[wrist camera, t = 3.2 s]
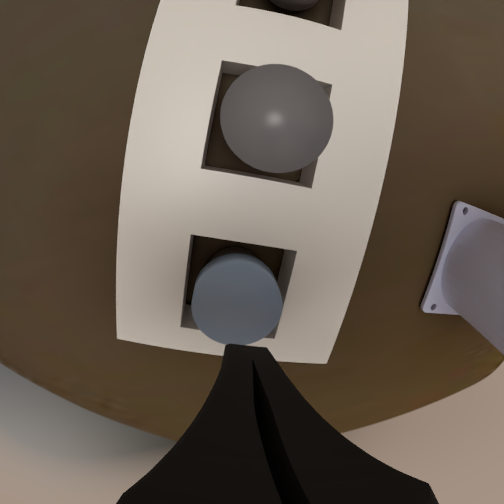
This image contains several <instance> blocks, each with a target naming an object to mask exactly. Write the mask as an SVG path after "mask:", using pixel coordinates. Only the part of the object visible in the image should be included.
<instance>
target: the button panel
mask: <svg viewBox="0 0 504 504" xmlns="http://www.w3.org/2000/svg"><path fill="white" fill-rule="evenodd" d="M239 3H240V0H161V1H160V4H159V7H158V10H157V13H156V16H155V20H154V23H153V26H152V30H151V33H150V37H149V41H148V44H147V48H146V52H145V56H144V60H143V64H142V68H141V72H140V77H139V81H138V86H137V91H136V96H135V101H134V106H133V111H132V116H131V122H130V128H129V134H128V141H127V147H126V154H125V162H124V170H123V178H122V187H121V198H120V209H119V222H118V238H117V263H116V321H117V339H122V340H127V341H132V342H137V343H143V344H148V345H154V346H159V347H165V348H171V349H178V350H184V351H191V352H198V353H205V354H213V355H221V356H223V355H224V349H225V346H226V345H225V344H222V343H219V342H216V341H214V340H212V339H210V338H209V337H207V336H206V335H205V334H204V333H203V332H202V331H201V330H200V329H199V328H198V326H197V325H196V323H195V321H194V319H193V315H192V309H191V305H187V304H186V295H187V286H188V278H189V269H190V261H191V253H192V246H193V238H194V235H198V236H205V237H211V238H218V239H224V240H231V241H237V242H244V243H250V244H256V245H263V246H269V247H275V248H282V249H285V250H284V254H283V258H282V263H281V267H280V271H279V275H278V280H277V285H278V288H279V291H280V293H281V297H282V303H283V307H282V314H281V317H280V320H279V322H278V324H277V325H276V327H275V328H274V329H273V330H272V331H271V332H270V333H269V334H268V335H267V336H265V337H264V338H263V339H261V340H259V341H257V342H254V343H251V344H247V345H248V346H258V347H267V348H268V350H269V351H270V352H271V354H272V355H273V357H274V358H275V360H276V361H284V362H299V363H319V364H327V361H328V359H329V356H330V354H331V351H332V348H333V346H334V343H335V340H336V338H337V335H338V332H339V330H340V327H341V324H342V321H343V318H344V316H345V313H346V310H347V307H348V304H349V301H350V298H351V295H352V292H353V289H354V286H355V283H356V280H357V276H358V273H359V270H360V267H361V263H362V260H363V257H364V253H365V250H366V246H367V243H368V239H369V236H370V232H371V229H372V225H373V221H374V217H375V213H376V209H377V205H378V201H379V197H380V193H381V189H382V185H383V180H384V176H385V171H386V167H387V162H388V157H389V152H390V147H391V142H392V137H393V131H394V126H395V120H396V114H397V108H398V101H399V94H400V87H401V80H402V72H403V63H404V54H405V44H406V32H407V17H408V0H333V4H332V10H331V17H330V23H329V26H326V25H322V24H319V23H316V22H312V21H308V20H305V19H301V18H297V17H293V16H289V15H285V14H280V13H275V12H271V11H266V10H261V9H255V8H249V7H243V6H239ZM266 64H284V65H289V66H292V67H296V68H298V69H300V70H302V71H304V72H306V73H307V74H309V75H310V76H312V77H313V78H314V79H315V80H316V81H317V82H318V83H319V84H320V85H321V86H322V88H323V89H324V90H325V92H326V94H327V96H328V98H329V100H330V103H331V106H332V110H333V130H332V134H331V138H330V140H329V142H328V144H327V146H326V148H325V149H324V151H323V152H322V153H321V155H320V156H319V157H318V158H317V159H316V160H314V161H313V162H312V163H310V164H309V165H307V166H305V167H304V168H302V172H301V177H300V181H299V182H295V181H290V180H286V179H280V178H275V177H270V176H265V175H259V174H254V173H248V172H242V171H237V170H231V169H225V168H218V167H212V166H205V161H206V155H207V149H208V144H209V138H210V133H211V127H212V122H213V117H214V112H215V107H216V102H217V97H218V92H219V87H220V83H221V78H222V73H227V74H233V75H239V76H240V75H242V74H243V73H245V72H246V71H248V70H250V69H252V68H255V67H258V66H262V65H266Z"/></svg>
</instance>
